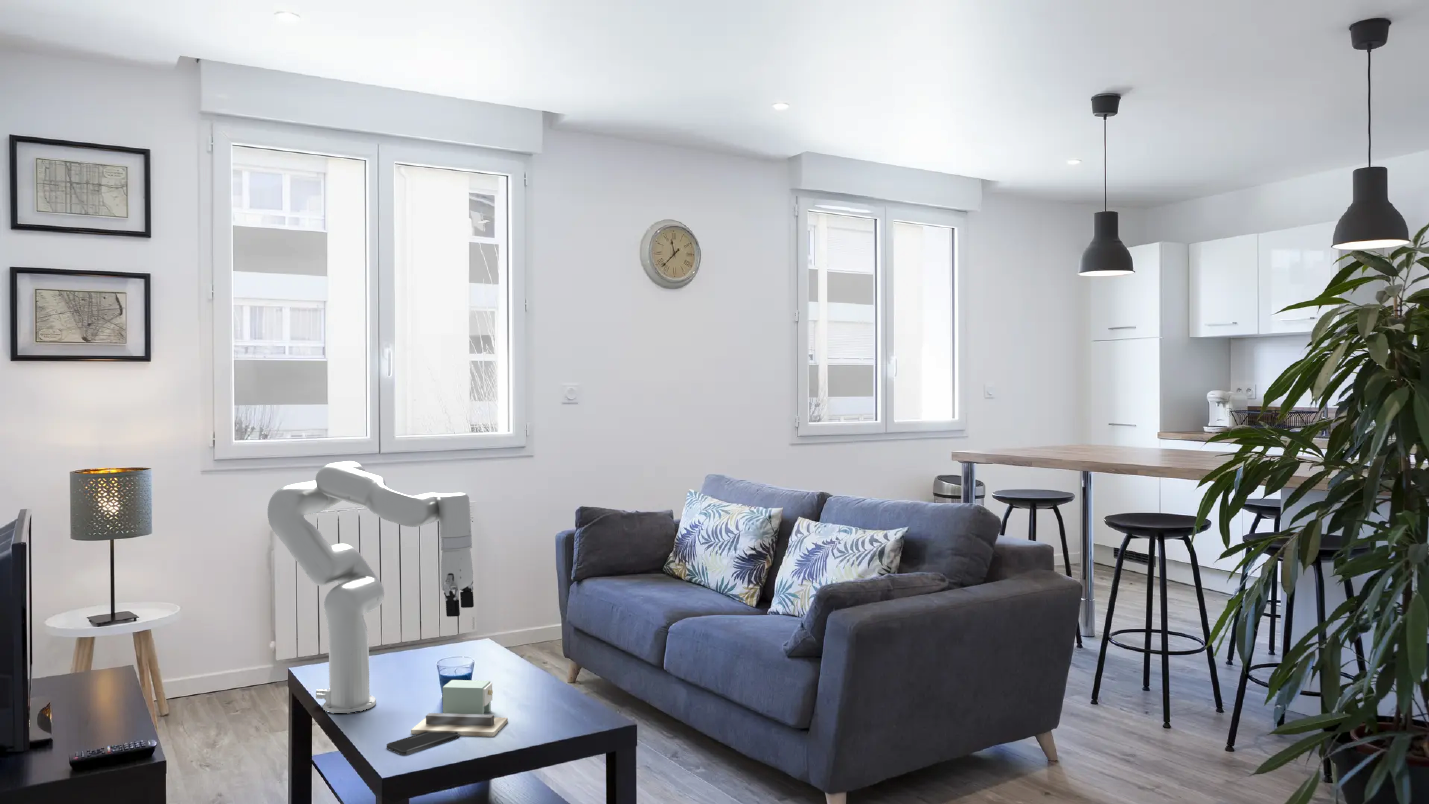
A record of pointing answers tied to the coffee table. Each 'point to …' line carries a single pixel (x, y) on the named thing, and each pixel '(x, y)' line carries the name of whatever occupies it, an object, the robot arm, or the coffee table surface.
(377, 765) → the coffee table surface
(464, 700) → the mint green box
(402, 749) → the phone
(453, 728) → the board
